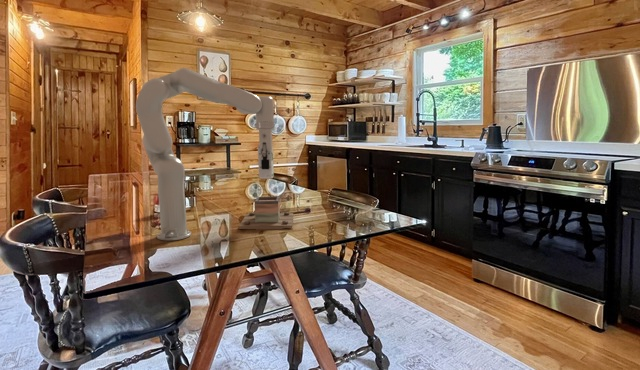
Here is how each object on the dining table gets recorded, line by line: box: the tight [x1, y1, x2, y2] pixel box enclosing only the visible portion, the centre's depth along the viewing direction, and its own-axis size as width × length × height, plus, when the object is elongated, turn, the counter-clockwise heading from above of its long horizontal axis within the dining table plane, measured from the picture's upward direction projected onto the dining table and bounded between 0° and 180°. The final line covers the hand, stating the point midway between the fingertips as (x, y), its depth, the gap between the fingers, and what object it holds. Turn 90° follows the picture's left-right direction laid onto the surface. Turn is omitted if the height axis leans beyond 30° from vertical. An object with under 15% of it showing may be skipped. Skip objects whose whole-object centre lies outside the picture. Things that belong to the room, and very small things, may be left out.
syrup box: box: [257, 144, 275, 180], centre depth 171 cm, size 6×6×14 cm
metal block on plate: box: [238, 196, 294, 230], centre depth 174 cm, size 22×22×11 cm
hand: (266, 167), depth 171 cm, fingers closed on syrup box, 5 cm apart
